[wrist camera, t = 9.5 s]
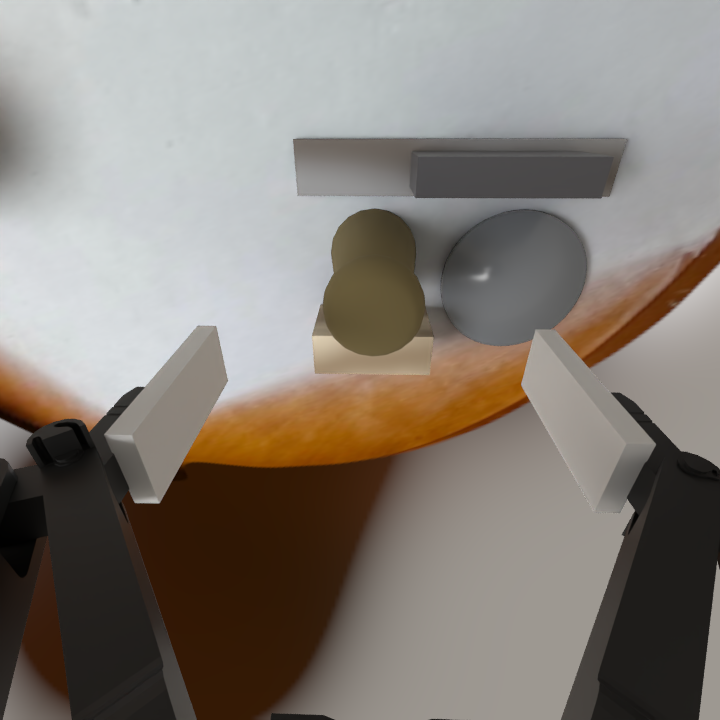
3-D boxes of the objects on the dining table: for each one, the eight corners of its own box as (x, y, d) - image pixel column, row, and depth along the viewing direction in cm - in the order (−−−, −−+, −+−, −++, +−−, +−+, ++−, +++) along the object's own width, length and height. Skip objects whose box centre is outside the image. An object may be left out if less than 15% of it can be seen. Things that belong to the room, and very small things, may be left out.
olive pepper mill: (424, 280, 29) (449, 358, 19) (346, 302, 30) (334, 386, 21) (404, 196, 26) (422, 241, 16) (319, 224, 27) (290, 281, 18)
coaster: (448, 209, 26) (451, 211, 25) (600, 209, 26) (607, 212, 25) (434, 340, 31) (435, 345, 31) (560, 341, 31) (564, 346, 30)
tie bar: (411, 151, 24) (418, 156, 20) (578, 150, 23) (614, 156, 20) (409, 186, 25) (415, 197, 21) (569, 187, 24) (601, 198, 21)
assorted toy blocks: (294, 139, 24) (277, 143, 20) (622, 138, 24) (677, 143, 19) (310, 338, 32) (300, 373, 27) (560, 341, 31) (589, 377, 27)
